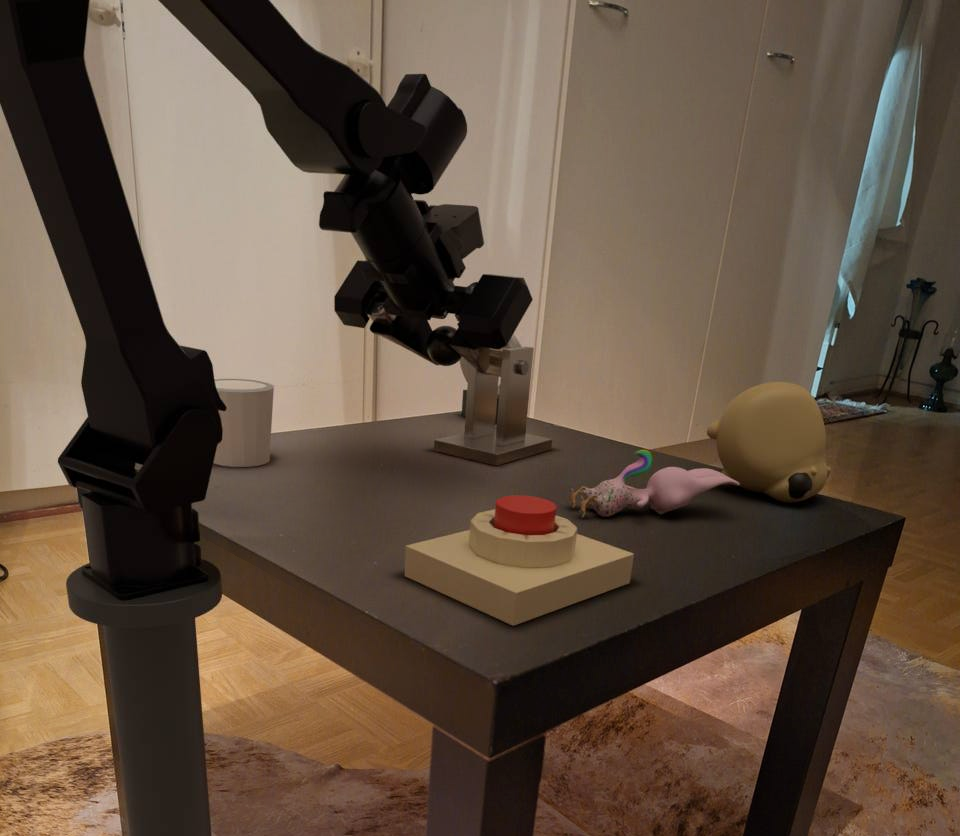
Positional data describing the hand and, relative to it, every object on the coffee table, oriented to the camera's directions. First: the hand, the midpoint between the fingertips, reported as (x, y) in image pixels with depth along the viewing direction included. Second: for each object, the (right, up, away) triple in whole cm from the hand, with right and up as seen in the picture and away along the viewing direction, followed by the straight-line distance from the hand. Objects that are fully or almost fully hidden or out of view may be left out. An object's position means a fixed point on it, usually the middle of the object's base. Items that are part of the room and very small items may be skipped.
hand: (462, 365), depth 85 cm
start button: (+5, -19, -27) cm, 33 cm away
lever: (+1, 0, +1) cm, 2 cm away
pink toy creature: (+17, -16, -8) cm, 24 cm away
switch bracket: (+3, -6, +9) cm, 12 cm away
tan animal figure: (+29, -12, +1) cm, 32 cm away
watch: (+3, +1, +25) cm, 25 cm away
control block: (+4, -23, -25) cm, 34 cm away
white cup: (-21, -10, -2) cm, 23 cm away
